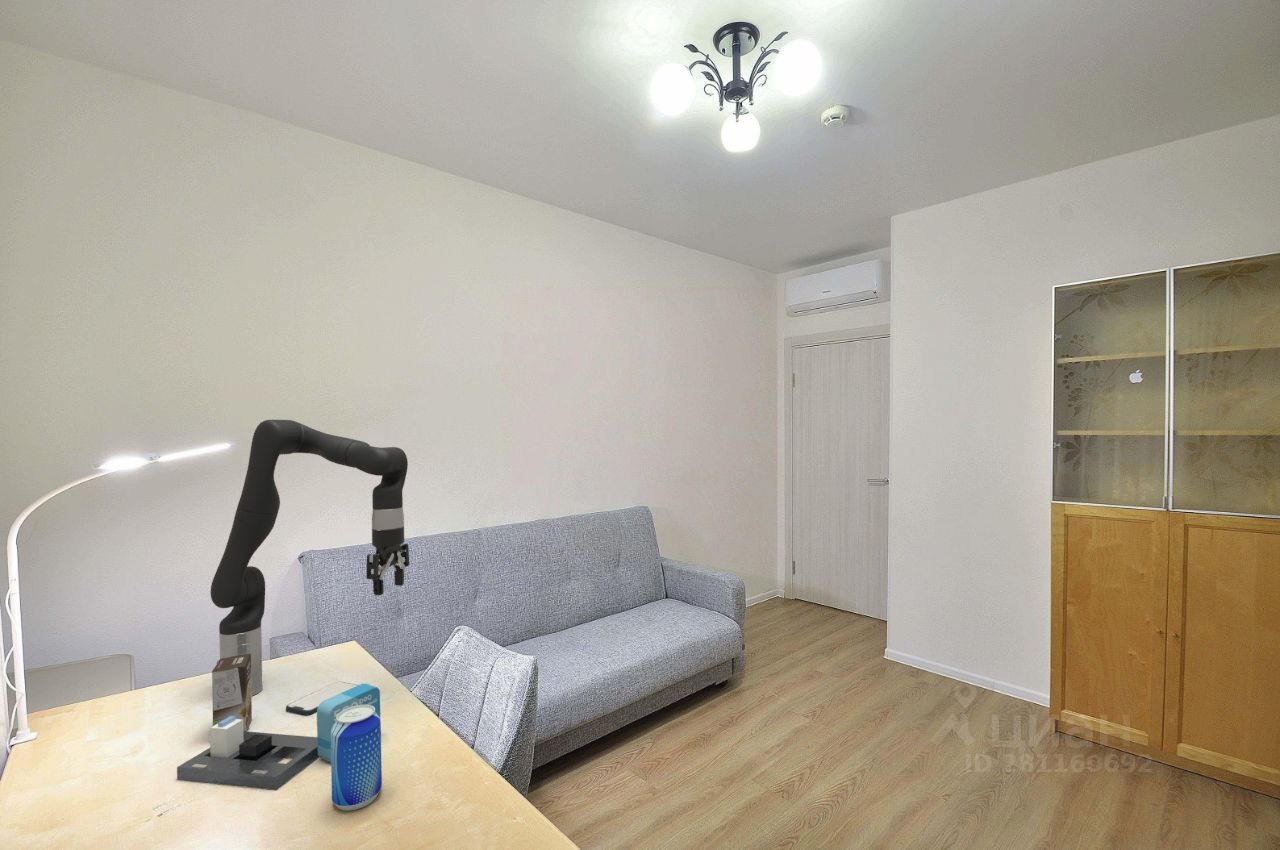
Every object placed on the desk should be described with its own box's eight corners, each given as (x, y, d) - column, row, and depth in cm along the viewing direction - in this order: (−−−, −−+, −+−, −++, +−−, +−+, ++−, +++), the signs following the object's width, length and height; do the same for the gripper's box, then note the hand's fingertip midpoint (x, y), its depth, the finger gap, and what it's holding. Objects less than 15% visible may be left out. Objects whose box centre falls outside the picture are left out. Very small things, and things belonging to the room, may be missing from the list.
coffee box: (246, 736, 130) (245, 666, 130) (212, 744, 127) (211, 672, 127) (252, 718, 138) (251, 652, 138) (220, 725, 135) (219, 658, 135)
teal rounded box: (330, 766, 117) (329, 708, 117) (317, 760, 119) (316, 703, 120) (381, 738, 128) (380, 684, 128) (368, 733, 130) (367, 680, 130)
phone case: (337, 686, 157) (282, 712, 142) (337, 680, 157) (283, 706, 142) (362, 691, 153) (308, 718, 138) (362, 685, 153) (308, 711, 138)
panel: (177, 779, 114) (176, 754, 114) (238, 741, 128) (238, 719, 128) (276, 790, 110) (276, 764, 110) (328, 749, 124) (328, 726, 124)
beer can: (369, 779, 112) (367, 698, 113) (390, 795, 107) (388, 710, 107) (324, 801, 106) (322, 715, 106) (344, 820, 101) (342, 729, 101)
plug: (210, 766, 118) (210, 723, 118) (227, 755, 122) (227, 714, 122) (227, 768, 118) (226, 725, 118) (243, 757, 122) (243, 715, 122)
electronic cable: (147, 813, 104) (147, 810, 104) (207, 782, 113) (207, 780, 113) (159, 819, 103) (159, 816, 103) (219, 787, 112) (219, 785, 112)
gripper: (391, 521, 152) (392, 582, 152) (356, 530, 138) (357, 597, 138) (417, 521, 151) (418, 582, 150) (384, 531, 136) (385, 598, 136)
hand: (389, 589), depth 144 cm, fingers open, 8 cm apart
